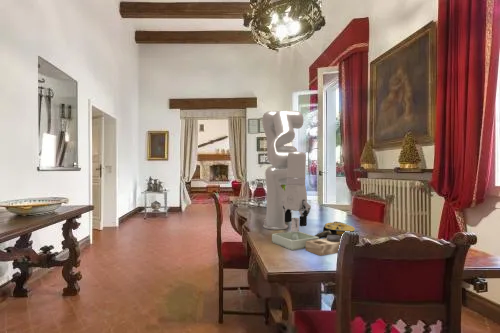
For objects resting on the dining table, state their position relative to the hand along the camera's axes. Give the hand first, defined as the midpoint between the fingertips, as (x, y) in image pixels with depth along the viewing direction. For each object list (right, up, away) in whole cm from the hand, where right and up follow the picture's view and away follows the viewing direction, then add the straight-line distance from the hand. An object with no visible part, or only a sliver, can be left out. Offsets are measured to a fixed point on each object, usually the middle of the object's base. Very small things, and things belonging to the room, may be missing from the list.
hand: (295, 223), depth 129 cm
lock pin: (0, -8, 0) cm, 8 cm away
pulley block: (+20, -9, +16) cm, 27 cm away
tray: (0, -8, 0) cm, 8 cm away
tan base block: (+11, -9, -9) cm, 16 cm away
